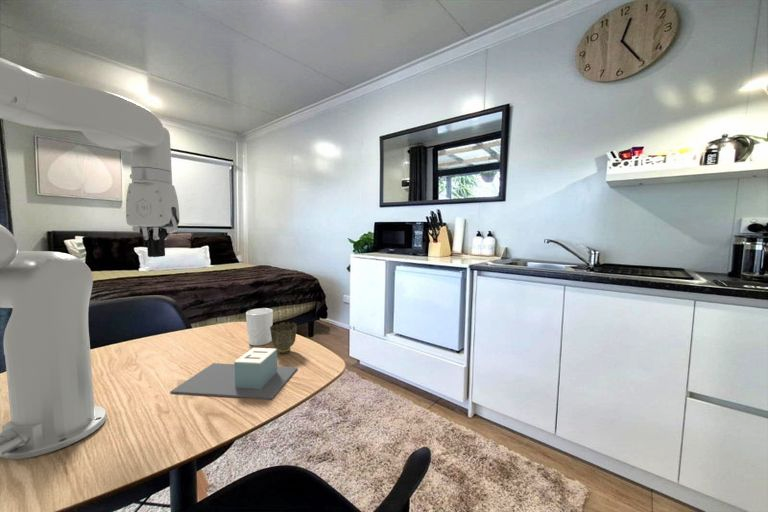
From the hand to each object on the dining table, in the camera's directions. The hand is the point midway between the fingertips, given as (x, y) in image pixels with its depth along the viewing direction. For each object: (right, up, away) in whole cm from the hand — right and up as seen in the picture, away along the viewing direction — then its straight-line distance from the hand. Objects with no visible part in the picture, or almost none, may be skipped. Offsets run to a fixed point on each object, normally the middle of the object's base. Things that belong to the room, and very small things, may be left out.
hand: (156, 256), depth 71 cm
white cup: (+15, -28, +24) cm, 39 cm away
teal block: (+25, -23, -2) cm, 34 cm away
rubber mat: (+20, -29, -1) cm, 36 cm away
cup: (+25, -28, +16) cm, 41 cm away
